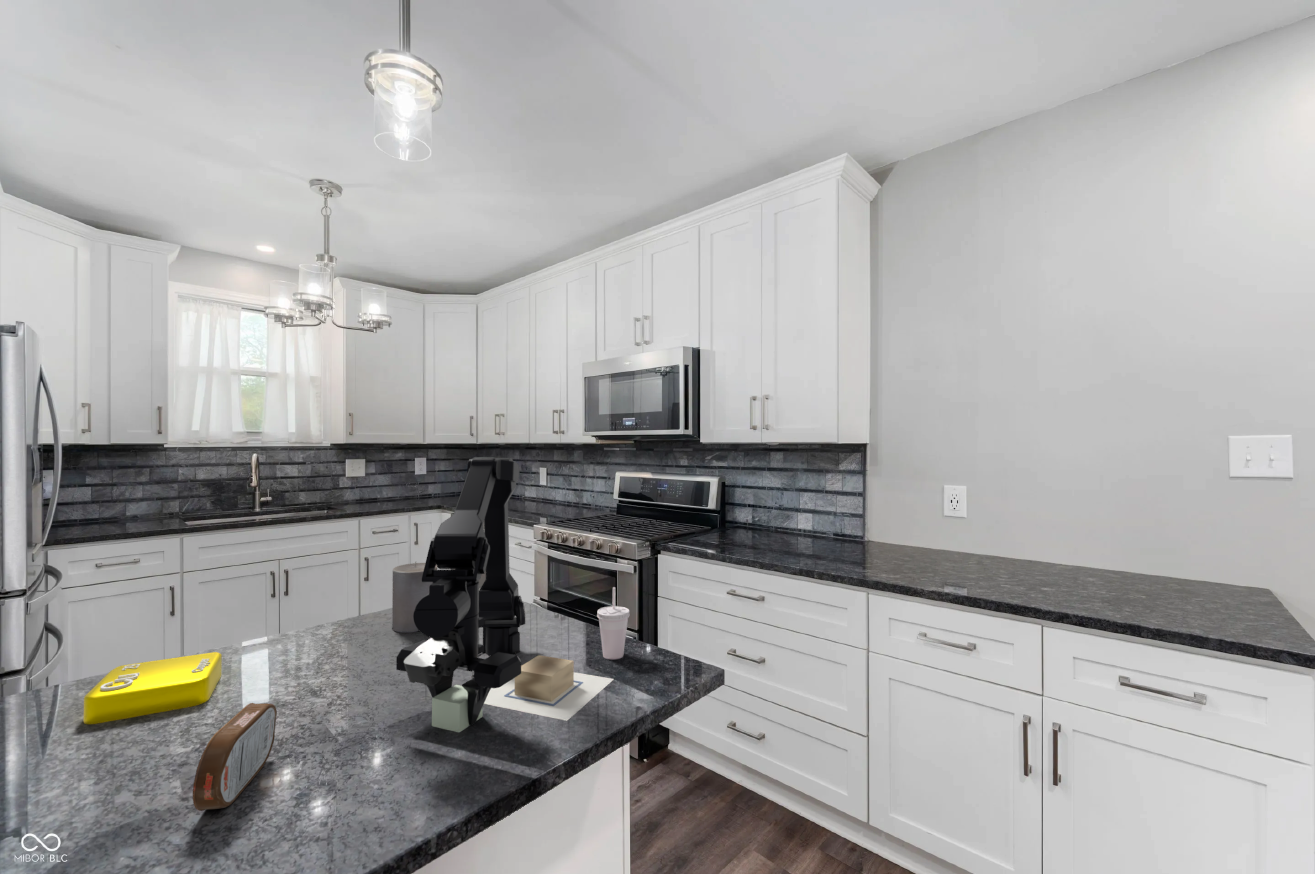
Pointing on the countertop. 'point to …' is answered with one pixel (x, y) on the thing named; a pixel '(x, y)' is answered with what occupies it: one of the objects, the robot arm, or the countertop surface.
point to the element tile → (153, 687)
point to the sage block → (451, 709)
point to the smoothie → (613, 629)
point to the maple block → (544, 678)
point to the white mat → (558, 708)
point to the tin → (234, 756)
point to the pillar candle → (407, 595)
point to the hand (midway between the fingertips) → (457, 720)
